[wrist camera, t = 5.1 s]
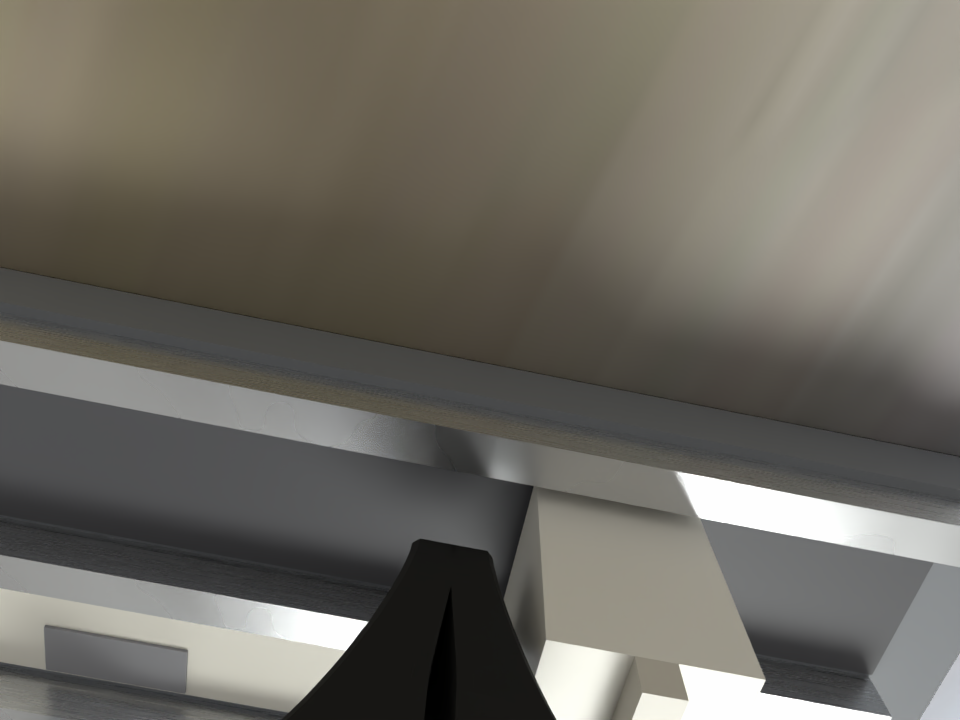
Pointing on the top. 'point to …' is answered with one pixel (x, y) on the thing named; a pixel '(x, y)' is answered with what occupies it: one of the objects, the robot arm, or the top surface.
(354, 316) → the top surface
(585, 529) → the tab
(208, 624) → the switch panel
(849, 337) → the top surface
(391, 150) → the top surface
